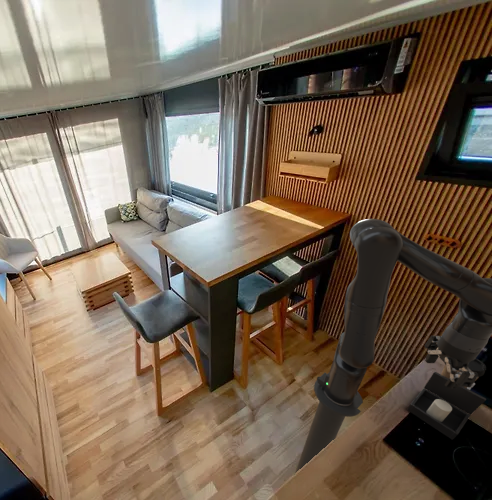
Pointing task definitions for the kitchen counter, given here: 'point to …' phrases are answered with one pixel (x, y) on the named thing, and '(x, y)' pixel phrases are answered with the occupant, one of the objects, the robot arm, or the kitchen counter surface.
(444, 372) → the coffee cup
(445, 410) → the cylinder
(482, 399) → the lid
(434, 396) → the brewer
